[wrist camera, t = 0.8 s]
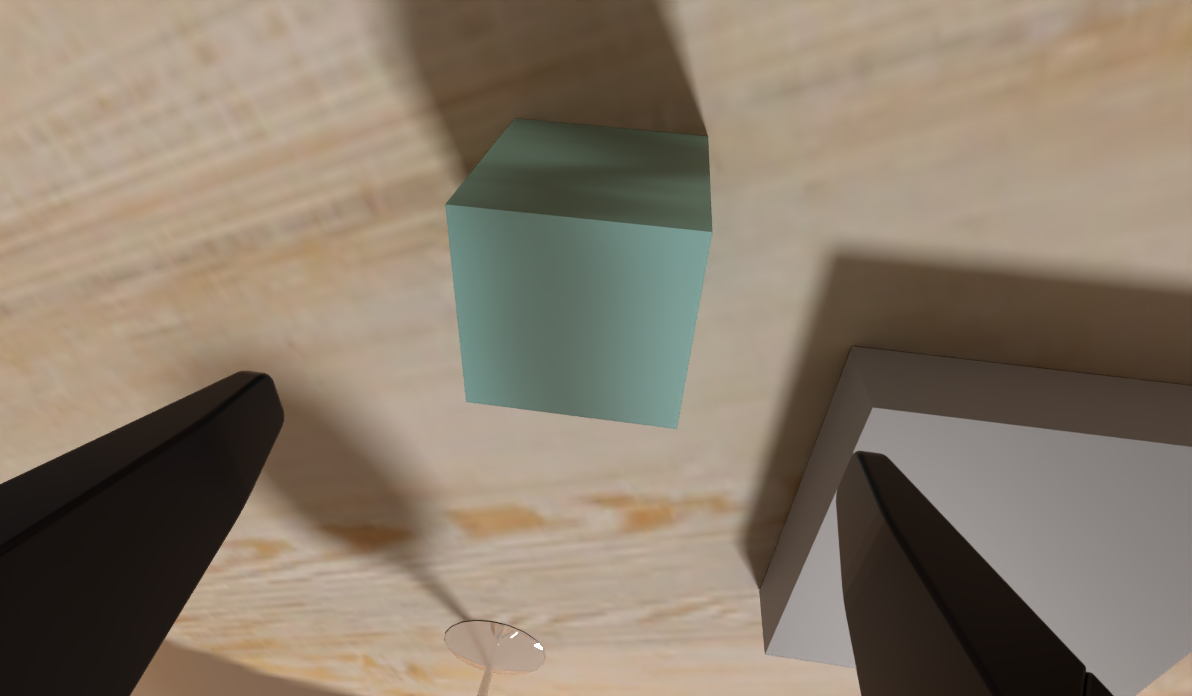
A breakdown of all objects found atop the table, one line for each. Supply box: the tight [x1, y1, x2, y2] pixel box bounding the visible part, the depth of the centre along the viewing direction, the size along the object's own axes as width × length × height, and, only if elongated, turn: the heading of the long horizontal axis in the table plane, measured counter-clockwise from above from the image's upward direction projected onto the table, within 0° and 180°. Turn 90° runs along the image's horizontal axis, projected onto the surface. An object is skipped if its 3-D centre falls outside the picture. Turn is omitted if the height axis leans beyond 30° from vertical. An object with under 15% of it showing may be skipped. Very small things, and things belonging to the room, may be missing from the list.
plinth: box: [759, 346, 1192, 696], centre depth 19 cm, size 12×12×2 cm
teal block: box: [445, 118, 712, 429], centre depth 14 cm, size 4×4×5 cm
